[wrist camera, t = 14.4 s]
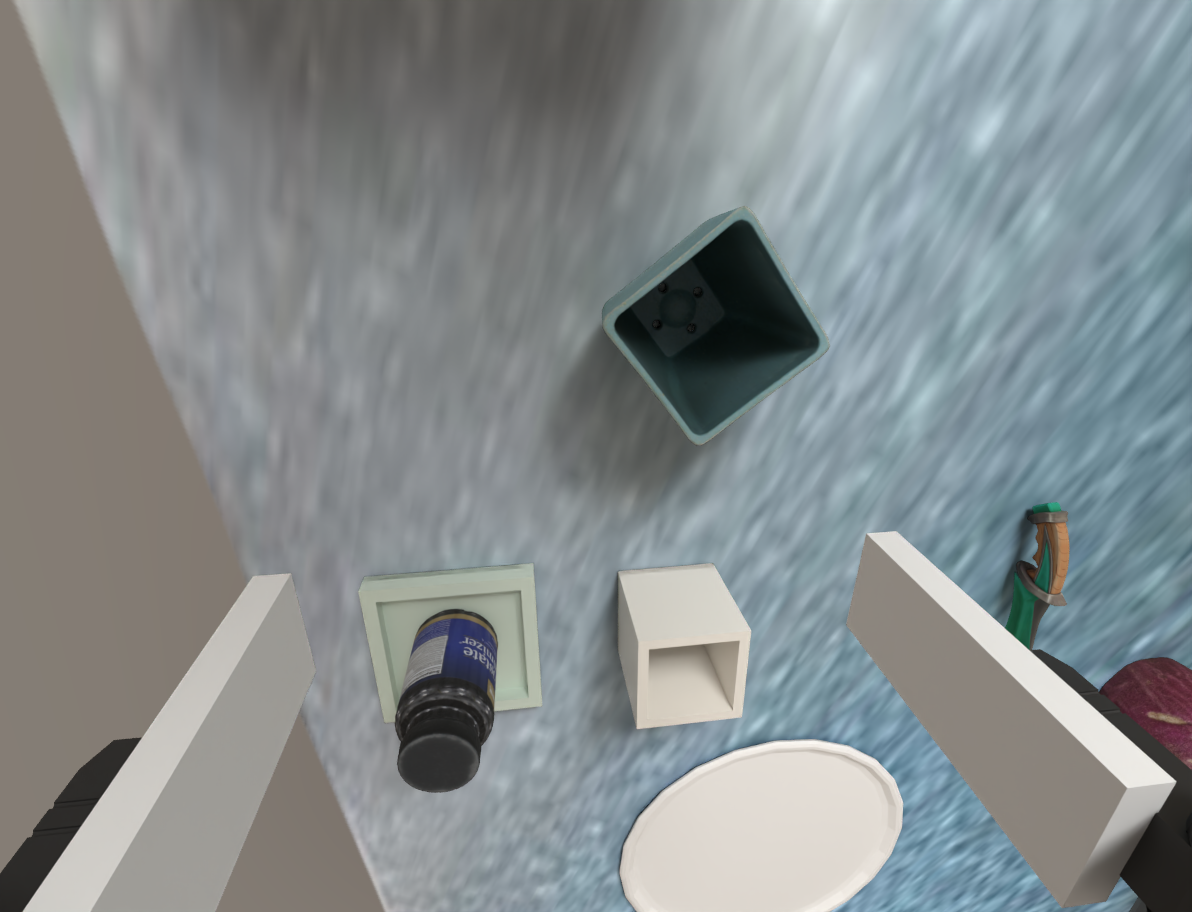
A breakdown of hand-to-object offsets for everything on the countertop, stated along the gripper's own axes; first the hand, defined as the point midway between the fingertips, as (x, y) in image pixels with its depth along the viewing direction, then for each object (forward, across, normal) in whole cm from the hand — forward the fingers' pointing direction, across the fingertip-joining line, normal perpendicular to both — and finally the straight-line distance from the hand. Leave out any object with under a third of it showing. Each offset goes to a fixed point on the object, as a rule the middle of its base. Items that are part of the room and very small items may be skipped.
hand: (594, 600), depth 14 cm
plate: (+25, +20, -51) cm, 60 cm away
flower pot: (+26, +8, +2) cm, 28 cm away
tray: (+25, -7, -22) cm, 34 cm away
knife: (+26, +39, -24) cm, 52 cm away
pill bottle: (+25, -8, -22) cm, 34 cm away
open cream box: (+25, +9, -21) cm, 34 cm away
